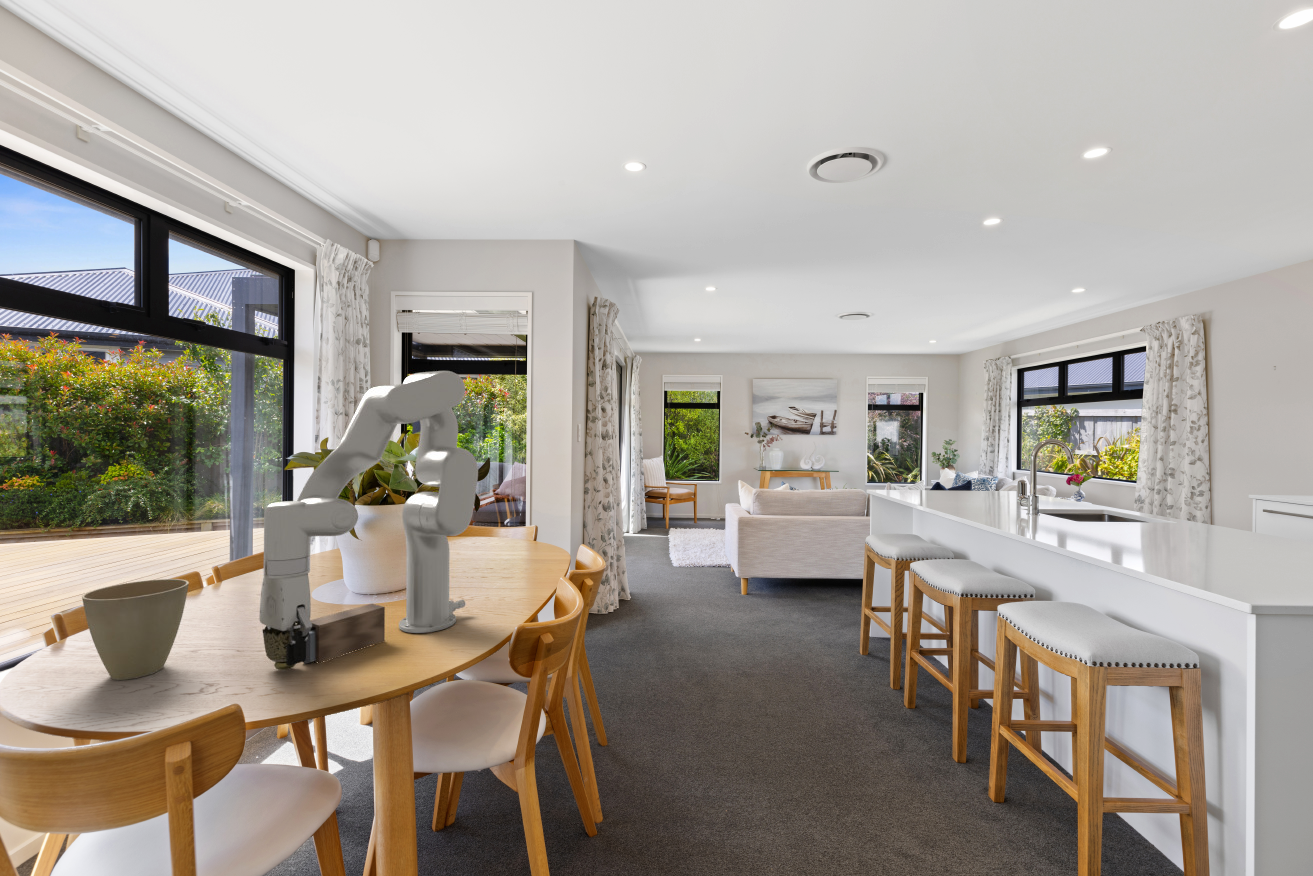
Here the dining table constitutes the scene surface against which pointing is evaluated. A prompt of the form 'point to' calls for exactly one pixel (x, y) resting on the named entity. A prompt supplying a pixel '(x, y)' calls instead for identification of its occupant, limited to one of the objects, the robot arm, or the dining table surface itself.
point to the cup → (277, 646)
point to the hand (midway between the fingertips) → (286, 658)
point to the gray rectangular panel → (311, 647)
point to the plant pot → (135, 624)
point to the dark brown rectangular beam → (348, 631)
